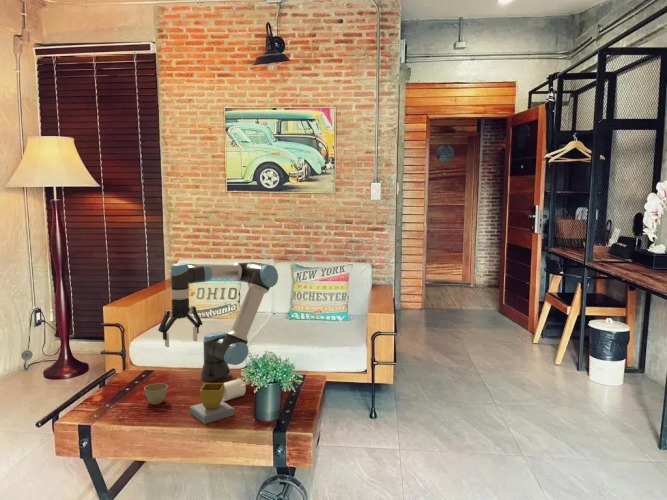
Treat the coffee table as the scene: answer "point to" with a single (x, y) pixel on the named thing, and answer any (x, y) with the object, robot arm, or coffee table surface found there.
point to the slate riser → (212, 412)
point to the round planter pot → (156, 392)
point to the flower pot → (212, 395)
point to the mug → (233, 389)
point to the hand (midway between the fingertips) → (181, 343)
